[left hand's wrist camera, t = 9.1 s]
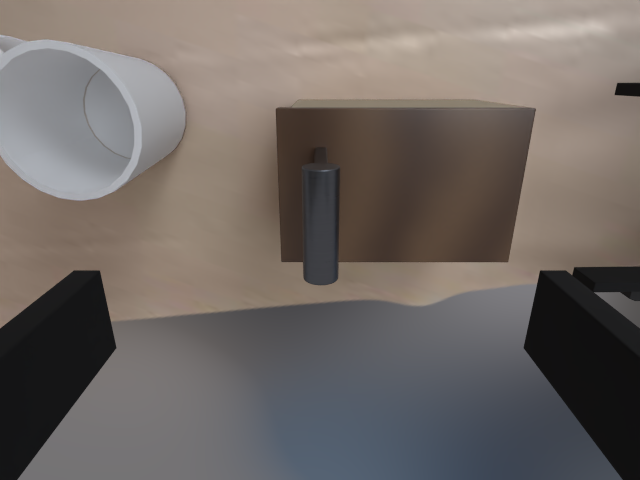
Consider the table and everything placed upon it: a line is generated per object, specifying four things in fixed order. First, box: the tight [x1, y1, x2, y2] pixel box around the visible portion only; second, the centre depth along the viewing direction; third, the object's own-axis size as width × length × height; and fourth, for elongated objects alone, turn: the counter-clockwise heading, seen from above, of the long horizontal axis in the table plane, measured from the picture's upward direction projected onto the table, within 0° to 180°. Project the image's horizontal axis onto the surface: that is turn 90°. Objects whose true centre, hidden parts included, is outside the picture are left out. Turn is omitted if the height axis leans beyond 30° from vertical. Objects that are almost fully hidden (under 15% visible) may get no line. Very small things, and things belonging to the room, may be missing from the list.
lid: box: [276, 107, 536, 285], centre depth 23 cm, size 15×10×8 cm, turn 90°
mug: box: [0, 35, 186, 201], centre depth 28 cm, size 11×9×10 cm
